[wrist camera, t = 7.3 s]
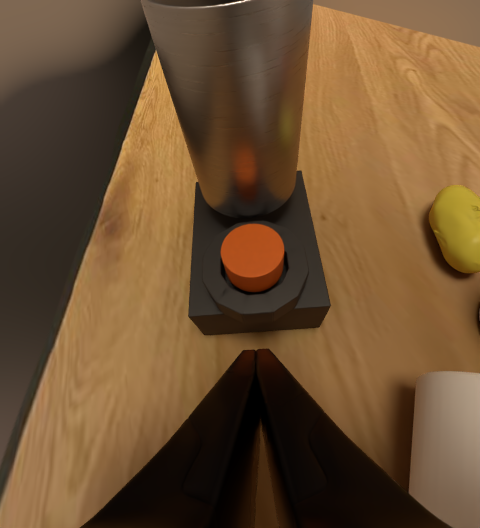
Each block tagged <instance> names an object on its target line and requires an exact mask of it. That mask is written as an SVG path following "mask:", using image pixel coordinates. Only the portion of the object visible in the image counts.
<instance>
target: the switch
mask: <svg viewBox="0 0 480 528" xmlns="http://www.w3.org/2000/svg"><path fill="white" fill-rule="evenodd" d="M221 258H222V261H223V264H224V267H225V270H226V274H227V276H228V278H229V280H230V281H231V283H232V284H233V285H234V286H236V287H237V288H239V289H241V290H243V291H247V292H261V291H264V290H267V289H269V288H271V287H272V286H273V285H275V284H276V283H277V281H278V280H279V279H280V277H281V275H282V272H283V262H284V244H283V241H282V239H281V237H280V236H279V234H278V233H277V232H276V231H274V230H273V229H272V228H270V227H268V226H265V225H261V224H246V225H242V226H240V227H238V228H236V229H234V230H233V231H231V232H230V233H229V234H228V235H227V236H226V238H225V239H224V241H223V243H222V246H221Z"/></svg>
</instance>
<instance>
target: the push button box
mask: <svg viewBox="0 0 480 528" xmlns="http://www.w3.org/2000/svg"><path fill="white" fill-rule="evenodd" d="M246 224H261V225H265V226H268V227H270V228H272V229H273V230H274V231H276V232H277V233H278V234H279V236H280V237H281V239H282V241H283V244H284V262H283V272H282V275H281V277H280V279H279V280H278V281H277V283H276V284H275V285H273V286H272V287H271V288H269V289H267V290H264V291H261V292H247V291H243V290H241V289H239V288H237V287H236V286H234V285H233V284H232V283H231V281H230V280H229V278H228V276H227V274H226V270H225V267H224V264H223V261H222V258H221V246H222V243H223V241H224V239H225V238H226V236H227V235H228V234H229V233H230V232H231V231H233V230H234V229H236V228H238V227H240V226H242V225H246ZM330 306H331V304H330V300H329V295H328V291H327V286H326V281H325V277H324V272H323V268H322V263H321V258H320V254H319V249H318V245H317V240H316V236H315V231H314V226H313V222H312V217H311V213H310V208H309V204H308V199H307V194H306V190H305V185H304V181H303V176H302V171H297V173H296V183H295V188H294V190H293V193H292V194H291V196H290V197H289V199H288V200H287V201H286V202H285V203H284V204H283V205H282V206H281V207H279V208H278V209H276V210H274V211H272V212H270V213H268V214H265V215H262V216H258V217H252V218H236V217H230V216H227V215H224V214H222V213H219V212H218V211H216V210H214V209H213V208H212V207H211V206H210V205H209V204H208V203H207V202H206V200H205V199H204V197H203V194H202V191H201V188H200V185H199V182H196V189H195V207H194V225H193V242H192V260H191V278H190V296H189V314H188V316H189V318H190V319H191V320H192V321H193V322H194V324H195V325H196V326H197V327H198V328H199V329H200V331H201V332H202V333H203V334H204V335H215V334H230V333H244V332H259V331H273V330H288V329H302V328H316V327H320V325H321V323H322V321H323V320H324V318H325V316H326V314H327V312H328V310H329V308H330Z"/></svg>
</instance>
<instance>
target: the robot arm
mask: <svg viewBox="0 0 480 528" xmlns="http://www.w3.org/2000/svg"><path fill="white" fill-rule="evenodd" d="M261 425H262V432H263V438H264V444H265V450H266V455H267V461H268V467H269V473H270V478H271V484H272V490H273V496H274V501H275V507H276V513H277V519H278V524H279V528H453V527H451V526H450V525H448V524H447V523H445V522H443V521H442V520H440V519H439V518H438V517H436V516H435V515H434V514H432V513H431V512H430V511H428V510H427V509H426V508H425V507H424V506H423V505H421V504H420V503H419V502H418V501H417V500H416V499H415V498H413V497H412V496H411V495H410V494H409V493H408V492H407V491H406V490H405V489H404V488H402V487H401V486H400V485H399V484H398V483H397V482H396V481H395V480H394V479H392V478H391V477H390V476H389V475H388V474H387V473H386V472H385V471H384V470H383V469H381V468H380V467H379V466H378V465H377V464H376V463H375V462H374V461H373V460H372V459H370V458H369V457H368V456H367V455H366V454H365V453H364V452H363V451H362V450H361V449H360V448H359V447H358V446H357V445H356V444H355V443H353V442H352V441H351V440H350V439H349V438H348V437H347V436H346V435H345V434H344V433H343V431H342V430H341V429H340V428H339V427H338V426H337V425H336V424H335V423H334V422H333V421H332V420H331V418H330V417H329V416H328V415H327V414H326V413H324V411H323V409H322V408H321V407H320V406H319V405H318V404H317V403H316V402H315V400H314V399H313V398H312V397H311V396H310V395H309V394H308V392H307V391H306V390H305V389H304V388H303V387H302V386H301V385H300V383H299V382H298V381H297V380H296V379H295V378H294V377H293V375H292V374H291V373H290V372H289V371H288V370H287V369H286V368H285V366H284V365H283V364H282V363H281V362H280V361H279V360H278V358H277V357H276V356H275V355H274V354H273V353H272V352H271V351H270V349H258V350H257V351H255V350H243V351H242V352H241V354H240V355H239V356H238V357H237V358H236V360H235V361H234V362H233V363H232V365H231V366H230V367H229V368H228V369H227V371H226V372H225V373H224V374H223V376H222V377H221V378H220V379H219V380H218V382H217V383H216V384H215V385H214V387H213V388H212V389H211V390H210V391H209V393H208V394H207V395H206V396H205V398H204V399H203V400H202V401H201V403H200V404H199V405H198V406H197V407H196V409H195V410H194V411H193V412H192V414H191V415H190V416H189V418H188V419H187V420H186V421H185V422H184V423H183V424H182V426H181V427H180V428H179V429H178V430H177V432H176V433H175V434H174V435H173V436H172V437H171V439H170V440H169V441H168V442H167V443H166V444H165V445H164V446H163V447H162V448H161V450H160V451H159V452H158V453H157V454H156V455H155V456H154V457H153V458H152V459H151V460H150V461H149V462H148V463H147V464H146V465H145V466H144V467H143V468H142V469H141V470H140V471H139V472H138V473H137V474H136V475H135V476H134V477H133V478H132V479H131V480H130V481H129V482H128V483H127V484H126V485H125V486H124V487H123V488H122V489H121V490H120V491H119V492H118V493H117V494H116V495H115V496H114V497H113V498H112V499H111V500H110V501H109V502H108V503H107V504H106V505H105V506H104V507H103V508H102V509H101V510H100V511H99V512H98V513H97V514H96V515H95V516H94V517H93V518H91V519H90V520H89V521H88V522H86V523H85V524H84V525H83V526H81V527H80V528H254V522H255V507H256V493H257V478H258V464H259V449H260V435H261Z"/></svg>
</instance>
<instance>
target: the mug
mask: <svg viewBox="0 0 480 528" xmlns="http://www.w3.org/2000/svg"><path fill="white" fill-rule="evenodd" d="M409 494H410V495H411V496H412V497H413V498H415V499H416V500H417V501H418V502H419V503H420V504H421V505H423V506H424V507H425V508H426V509H427V510H428V511H430V512H431V513H432V514H434V515H435V516H436V517H438V518H439V519H440V520H442V521H443V522H445V523H447V524H448V525H450V526H451V527H453V528H480V373H471V372H457V371H437V372H429V373H425V374H422V375H420V376H419V377H418V378H417V380H416V391H415V406H414V421H413V436H412V451H411V465H410V480H409Z"/></svg>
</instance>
